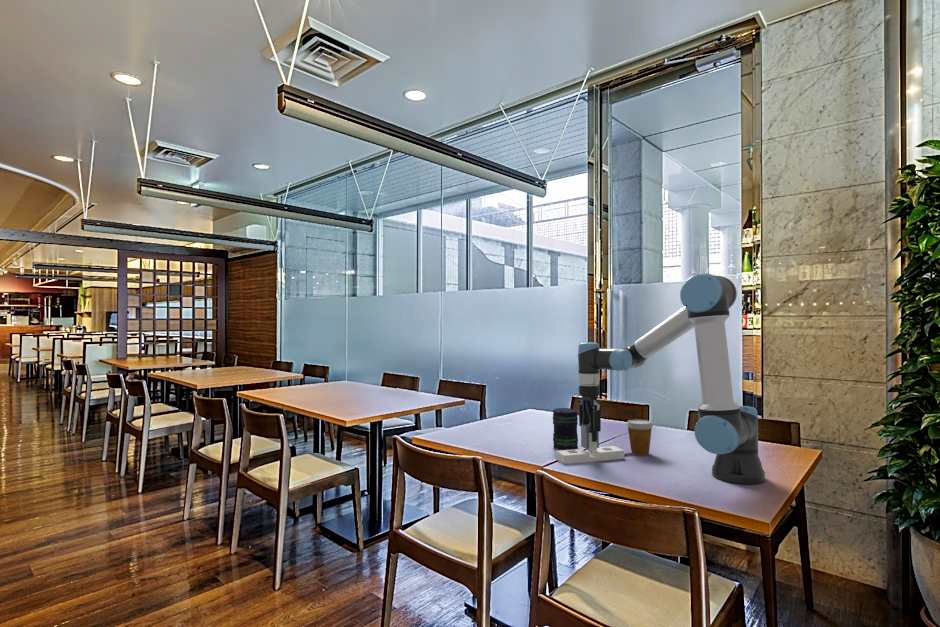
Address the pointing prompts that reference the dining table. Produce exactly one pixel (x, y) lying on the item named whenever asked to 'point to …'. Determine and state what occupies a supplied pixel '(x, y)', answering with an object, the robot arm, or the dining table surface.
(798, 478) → the dining table surface
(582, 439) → the charger
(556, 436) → the storage jar
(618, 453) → the power strip
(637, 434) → the disposable coffee cup
